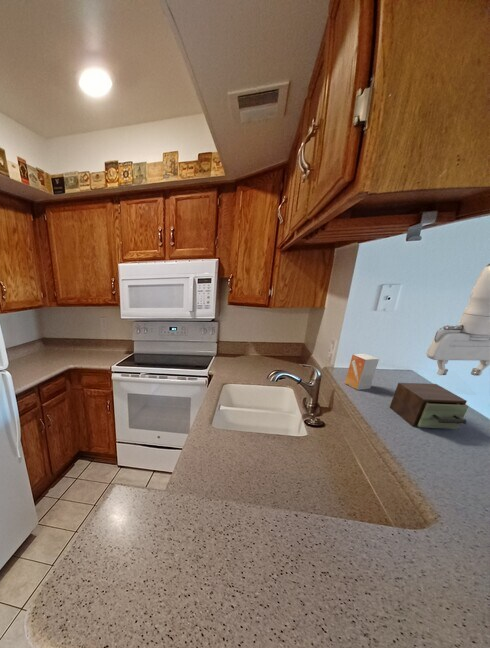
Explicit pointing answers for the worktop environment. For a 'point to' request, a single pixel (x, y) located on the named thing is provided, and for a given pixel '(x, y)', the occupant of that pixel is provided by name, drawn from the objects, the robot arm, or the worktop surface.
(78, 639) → the worktop surface
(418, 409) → the cabinet
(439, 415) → the drawer
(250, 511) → the worktop surface
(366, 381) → the small box
